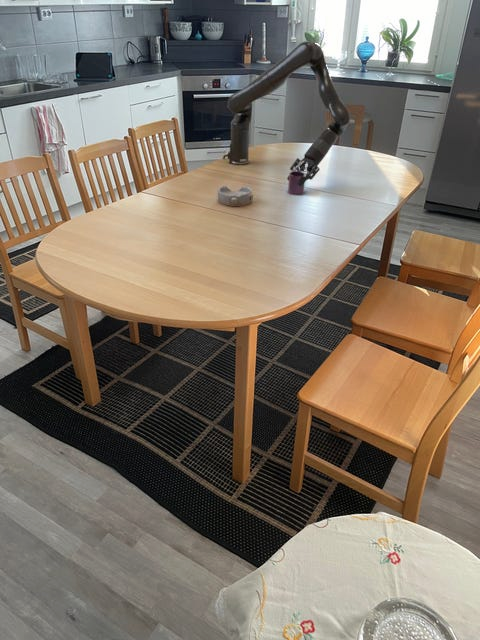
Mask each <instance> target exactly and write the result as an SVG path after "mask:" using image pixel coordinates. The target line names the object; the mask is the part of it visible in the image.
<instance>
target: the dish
mask: <svg viewBox="0 0 480 640" xmlns="http://www.w3.org/2000/svg"><path fill="white" fill-rule="evenodd" d="M216 190H217V199H218V201H219V203H221V204H223V205H226V206H232V207H239V206H246V205H248V204H250V203H252V200H253V199H254V194H253V192H252V189H251V188H250V187H248V186H245V185H242V186H241V187H240V188H239V189H238V190H231V189H230V188H228V186H226V185H224V186H220V187H218V188H217V189H216Z"/></svg>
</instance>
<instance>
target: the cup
mask: <svg viewBox="0 0 480 640" xmlns="http://www.w3.org/2000/svg"><path fill="white" fill-rule="evenodd" d="M288 174H289V175H288V176H289V181H288V187H287V192H288V194H291V195H294V196H295V195H297V196H300V195H303V194H304V193H305V184H306V182H305V183H304V184H303V185H302V186H299V185H298V182H299V181H300V179H301V178H302V177H304V172H303V171H302V172H292V171H290V172H289V173H288Z"/></svg>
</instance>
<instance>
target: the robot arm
mask: <svg viewBox="0 0 480 640" xmlns="http://www.w3.org/2000/svg"><path fill="white" fill-rule="evenodd" d="M303 67H309V69H311V71H312V73H313V75H314V76H315V79H316V82H317V83H316V84H317V90H318V95H319V98H320V100H321V102H322V104H323V106H324V108H325V110H326V111H328V112H329V113H330V115H331V117H332V120H331V121H330V122H329V124H328V126H327V127H326V128H324V129H323V131H322V132H321V133H320V134H319V136H318V137H317V138H316V139H315V140H314V141H313V142H312V144H311V145H310V146H309V148H308V149H307V150H306V151H305V153H304V155H303V156H304V157H303V158H302V159H300V158H298V157H297V158H296V159H295V160H294V162H293V163H292V164H291V166H290V167H289V170H290V172H302V173H304V177H302V178H301V179H300V181H299V182H298V185H299V186H302V185H303V184H304V183H305V184H306V182H307V181H308V180H311V181H312V180H313V178H315V176H317V174H318V173H319V172H320V170H321V169H320V167H319V165H320V163H321V162H322V161H323V160H324V159H325V157H326V156H327V154H328V153H329V151H330V150H331V148H332V147H333V146H334V144H335V143H336V142H337V140H338V138H339V137H340V136H342V134H343V133H344V132H345V130H346V129H347V128H348V126H349V124H350V121H351V114H350V112H349V110H348V108H347V106H346V105H345V104H344V102H343V101H342V100H341V97H340V96H339V93H338V91H337V89H336V87H335V84H334V82H333V80H332V78H331V75H330V71H329V69H328V65H327V63H326V58H325V55H324V51H323V49H322V46H321V45H320V44H318V43H316V42H313V41H307V40H305V41H301V43H299V44H298V45H297V46H296V47H295V48H294V49H292V50H291V51H289V53H288V54H287V55H285V57H284V58H282V59H281V60H279V61H277V62H276V63H275V64H274V65H272V66H270V67H269V68H267V69H266V70H265V71H263V72H262V73H261V74H260V75H258V77H255V79H253V80H252V81H251V82H250V83H249V84H248V85H246V86H244V87H243V88H242V89H240V90H238V91H236V92H234V93H232V94H231V95H230V96H229V98H228V99H227V108H228V110H229V112H230V113H231V114H235V115H234V117H233V119H232V120H231V122H230V144H229V151H228V152H227V154H224V155H223V156H222V159H223V160H225V159H226V157H227V160H229V164H233V165H247V164H249V162H250V161H249V155H250V154H249V153H250V125H251V122H252V113H253V102H255V101H257V100H259V99H261V98H264V97H266V96H268V95H271V94H272V93H273V92H275V91H277V90H278V89H280V88H281V87H282V86H284V84H285V83H286V82H287V80H288V78H289V77H290V76H291V75H292V74H293V73H294V72H296V71H298V70H299V69H301V68H303ZM286 180H287V181H288V182H289V175H288V176H287V178H286ZM305 184H304V185H305Z"/></svg>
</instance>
